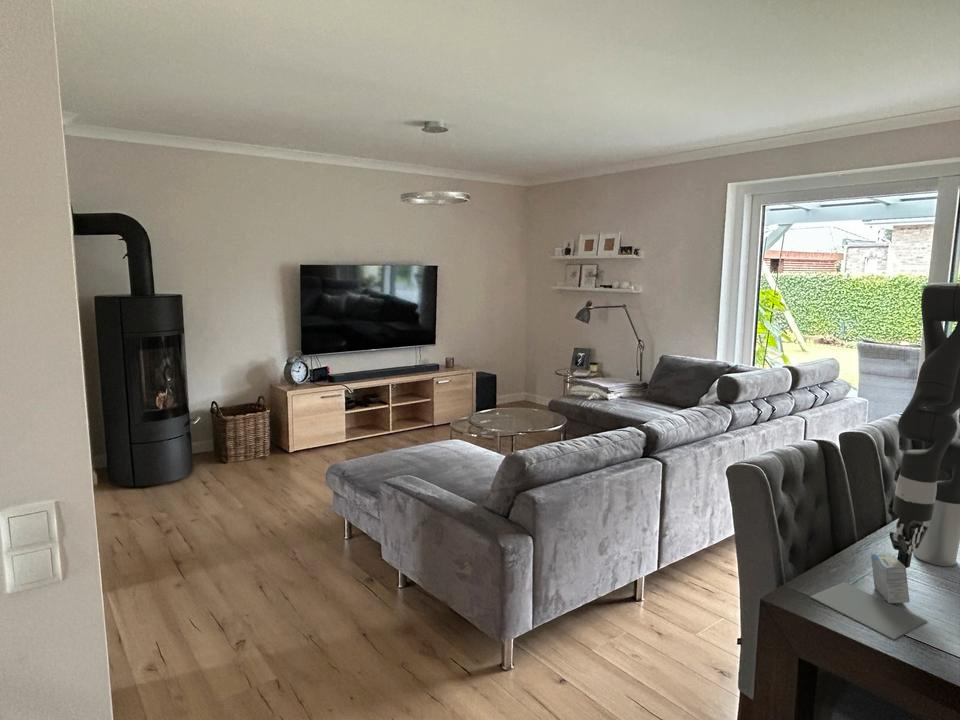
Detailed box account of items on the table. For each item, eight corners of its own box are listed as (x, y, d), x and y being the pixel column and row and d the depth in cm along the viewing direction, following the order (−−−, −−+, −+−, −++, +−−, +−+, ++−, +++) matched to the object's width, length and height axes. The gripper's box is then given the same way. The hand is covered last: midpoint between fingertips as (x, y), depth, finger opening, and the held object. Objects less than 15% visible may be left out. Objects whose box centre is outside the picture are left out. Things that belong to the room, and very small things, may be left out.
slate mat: (843, 583, 150) (844, 581, 150) (927, 621, 135) (927, 620, 135) (810, 597, 143) (810, 596, 143) (893, 640, 128) (893, 638, 128)
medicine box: (910, 603, 140) (906, 566, 139) (888, 604, 141) (884, 567, 140) (894, 586, 148) (891, 552, 147) (873, 587, 149) (870, 553, 148)
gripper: (911, 486, 148) (899, 553, 151) (882, 495, 142) (870, 565, 145) (947, 497, 142) (934, 567, 145) (918, 507, 135) (905, 580, 138)
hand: (902, 566), depth 145 cm, fingers closed
